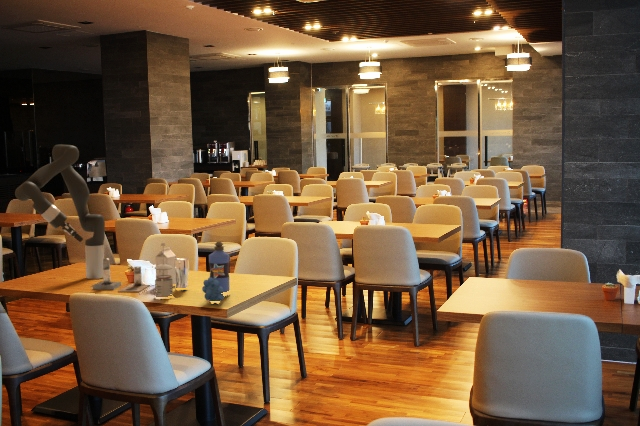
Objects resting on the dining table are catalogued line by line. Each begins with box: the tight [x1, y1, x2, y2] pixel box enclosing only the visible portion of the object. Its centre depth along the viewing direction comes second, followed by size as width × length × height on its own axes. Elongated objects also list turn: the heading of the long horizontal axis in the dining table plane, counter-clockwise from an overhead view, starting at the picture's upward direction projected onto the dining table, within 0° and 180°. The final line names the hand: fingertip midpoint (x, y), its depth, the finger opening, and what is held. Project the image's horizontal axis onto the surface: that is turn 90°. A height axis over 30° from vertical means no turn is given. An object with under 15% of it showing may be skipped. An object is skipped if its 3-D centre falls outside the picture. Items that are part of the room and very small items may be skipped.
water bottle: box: [208, 241, 230, 292], centre depth 326 cm, size 9×9×25 cm
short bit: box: [133, 266, 143, 286], centre depth 343 cm, size 3×3×9 cm
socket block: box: [92, 280, 122, 291], centre depth 341 cm, size 10×10×3 cm
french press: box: [154, 242, 174, 297], centre depth 324 cm, size 10×12×25 cm
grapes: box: [201, 276, 225, 302], centre depth 307 cm, size 12×7×12 cm, turn 58°
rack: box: [117, 283, 151, 294], centre depth 339 cm, size 18×10×2 cm, turn 175°
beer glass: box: [174, 257, 190, 289], centre depth 340 cm, size 7×7×15 cm
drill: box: [102, 257, 112, 285], centre depth 340 cm, size 3×3×14 cm
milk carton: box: [155, 246, 177, 286], centre depth 348 cm, size 7×7×19 cm
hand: (80, 239), depth 334 cm, fingers open, 8 cm apart
